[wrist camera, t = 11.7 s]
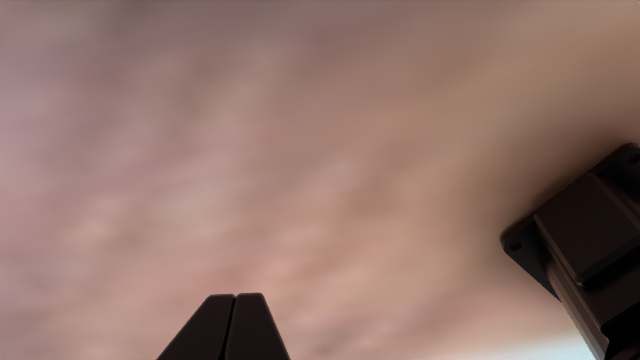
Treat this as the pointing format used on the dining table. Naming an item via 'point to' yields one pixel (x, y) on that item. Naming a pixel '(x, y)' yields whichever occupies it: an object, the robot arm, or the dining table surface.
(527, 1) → the dining table surface
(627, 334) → the robot arm
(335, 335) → the dining table surface
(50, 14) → the dining table surface
